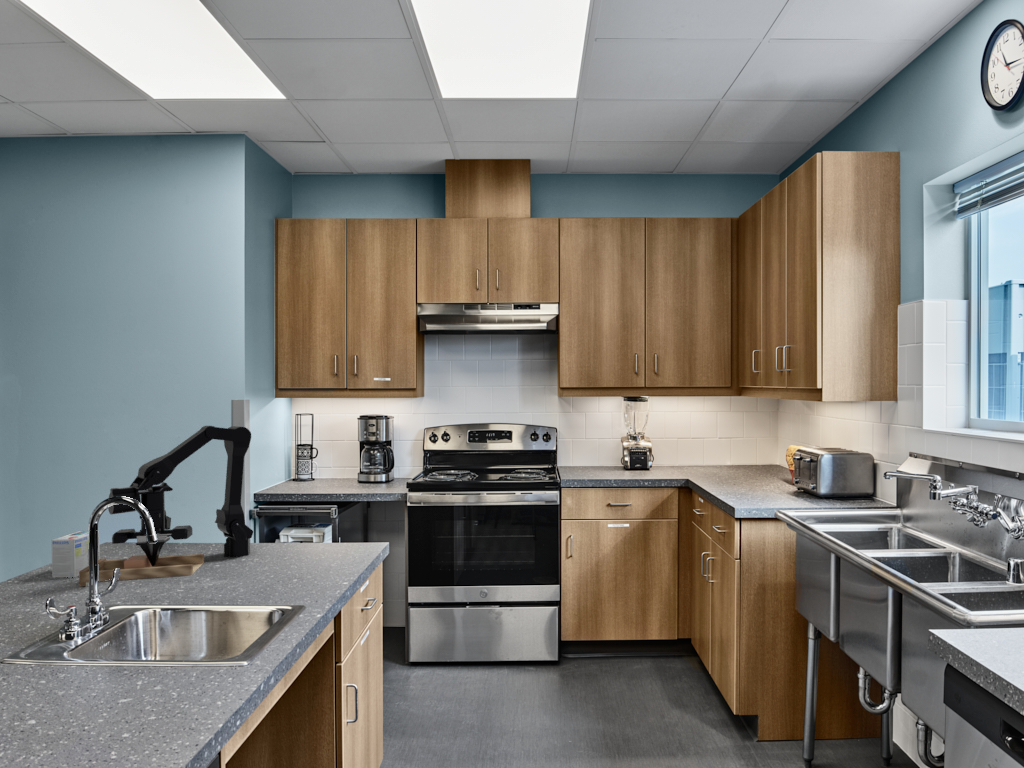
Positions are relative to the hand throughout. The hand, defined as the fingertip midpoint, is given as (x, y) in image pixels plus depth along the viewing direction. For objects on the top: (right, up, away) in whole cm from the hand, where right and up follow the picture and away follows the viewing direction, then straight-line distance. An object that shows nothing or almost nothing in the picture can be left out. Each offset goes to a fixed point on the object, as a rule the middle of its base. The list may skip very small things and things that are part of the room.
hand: (153, 565), depth 177 cm
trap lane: (-2, -3, 0) cm, 3 cm away
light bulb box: (-24, -3, +4) cm, 25 cm away
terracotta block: (-4, -2, 0) cm, 4 cm away
